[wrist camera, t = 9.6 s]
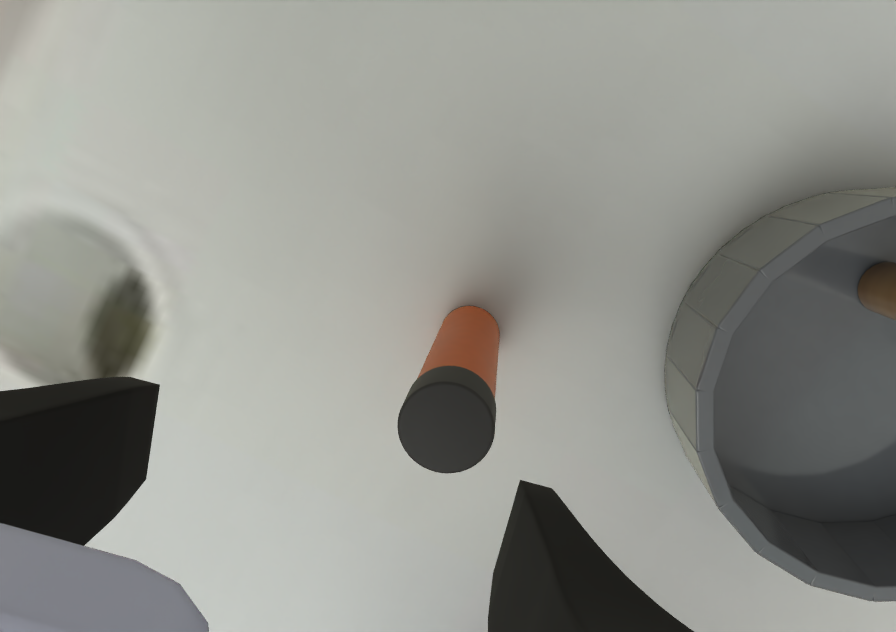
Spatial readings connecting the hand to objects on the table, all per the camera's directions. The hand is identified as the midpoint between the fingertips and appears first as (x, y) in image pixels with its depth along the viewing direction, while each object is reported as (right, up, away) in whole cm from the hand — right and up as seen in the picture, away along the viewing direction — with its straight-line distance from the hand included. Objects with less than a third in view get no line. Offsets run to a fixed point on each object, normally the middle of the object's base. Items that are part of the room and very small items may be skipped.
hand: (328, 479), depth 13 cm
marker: (+3, +2, +10) cm, 11 cm away
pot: (+15, +1, +9) cm, 18 cm away
